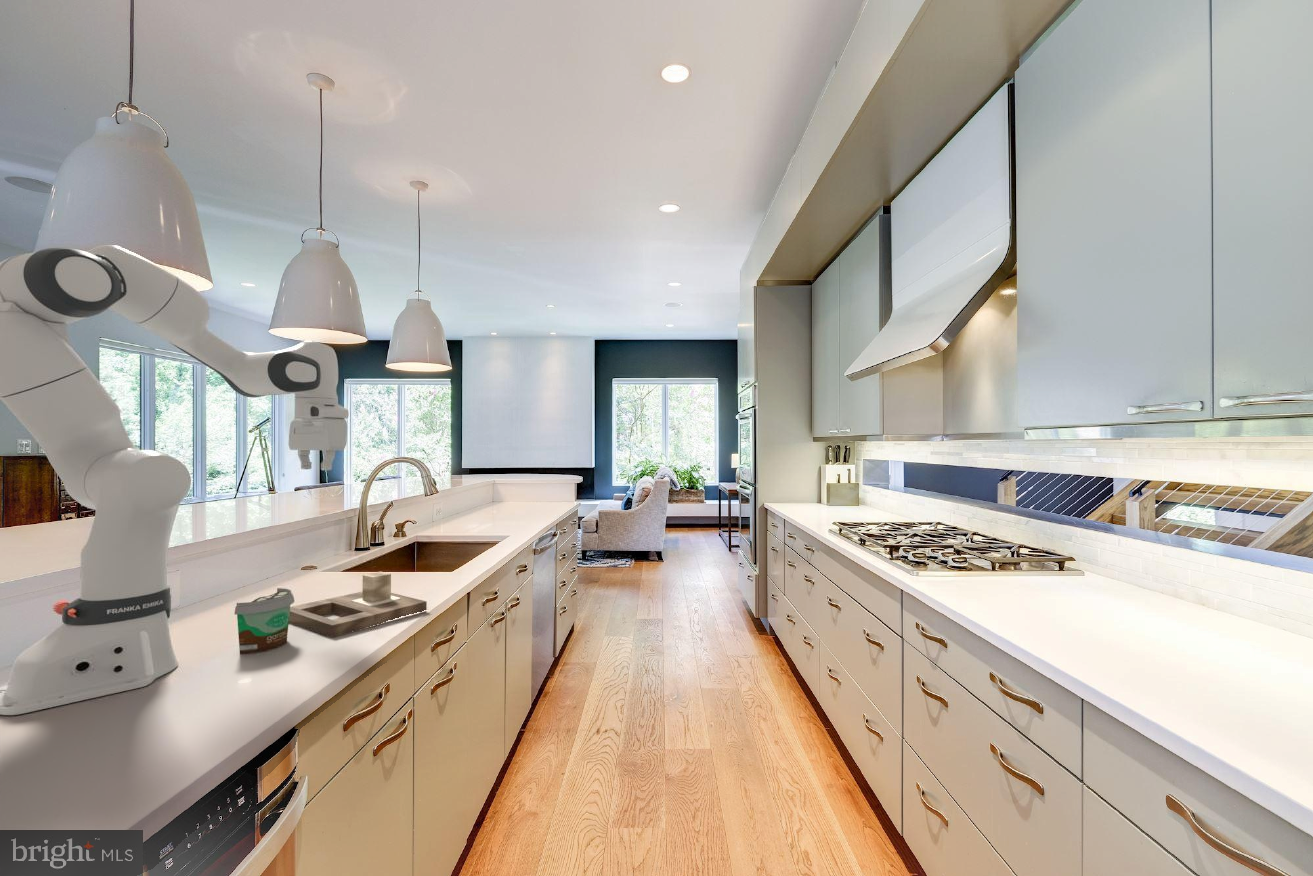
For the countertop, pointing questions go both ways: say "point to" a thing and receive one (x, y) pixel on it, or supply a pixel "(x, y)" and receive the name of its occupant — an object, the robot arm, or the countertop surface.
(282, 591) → the food container
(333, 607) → the pocket board
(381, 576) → the ash block
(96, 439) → the robot arm
